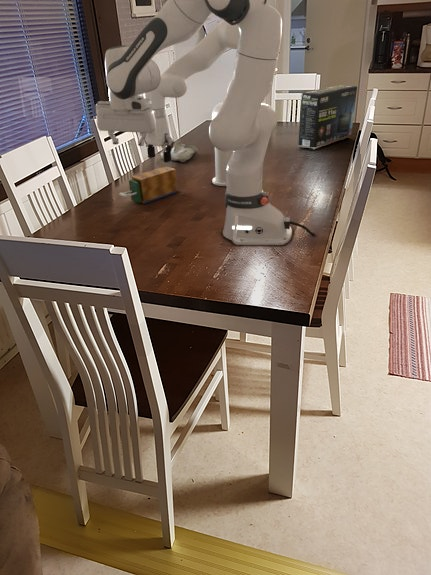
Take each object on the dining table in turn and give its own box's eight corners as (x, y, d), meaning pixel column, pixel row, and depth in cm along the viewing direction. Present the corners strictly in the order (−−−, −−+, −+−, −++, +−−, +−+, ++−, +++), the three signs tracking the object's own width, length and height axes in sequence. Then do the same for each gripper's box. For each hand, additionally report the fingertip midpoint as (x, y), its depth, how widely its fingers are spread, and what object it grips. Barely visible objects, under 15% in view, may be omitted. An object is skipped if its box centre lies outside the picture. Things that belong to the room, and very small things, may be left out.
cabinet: (144, 203, 176) (141, 179, 171) (134, 200, 180) (131, 176, 175) (177, 192, 186) (175, 169, 181) (167, 188, 190) (165, 166, 185)
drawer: (127, 206, 171) (124, 186, 167) (119, 203, 175) (116, 184, 171) (171, 191, 184) (169, 172, 180) (163, 189, 187) (161, 170, 183)
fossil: (184, 156, 217) (163, 136, 220) (174, 174, 223) (154, 154, 227) (205, 153, 231) (186, 134, 234) (195, 171, 237) (176, 152, 240)
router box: (314, 151, 231) (318, 94, 217) (296, 148, 237) (299, 92, 224) (352, 138, 251) (358, 85, 238) (335, 135, 258) (340, 83, 245)
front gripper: (90, 102, 149) (96, 145, 156) (148, 104, 144) (152, 148, 152) (99, 99, 154) (105, 141, 162) (155, 101, 150) (159, 143, 157)
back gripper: (133, 111, 172) (138, 157, 181) (163, 117, 162) (166, 165, 170) (149, 109, 177) (153, 153, 185) (179, 114, 166) (181, 161, 175)
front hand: (128, 144), depth 157 cm, fingers open, 8 cm apart
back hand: (159, 159), depth 178 cm, fingers open, 9 cm apart
